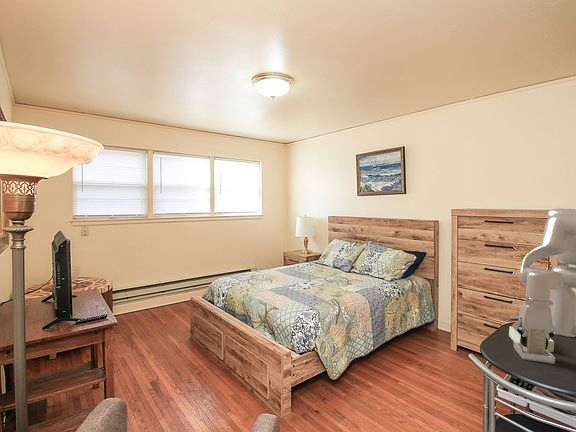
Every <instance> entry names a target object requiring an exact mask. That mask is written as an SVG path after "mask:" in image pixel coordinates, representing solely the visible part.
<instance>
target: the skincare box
mask: <svg viewBox="0 0 576 432" xmlns="http://www.w3.org/2000/svg"><path fill="white" fill-rule="evenodd" d="M526 337H527V347H524V346H523V350H524V351H525V352H526V353H533V354H540V355H545V345H546V329H538V328H529V330H528V331H527V335H526Z"/></svg>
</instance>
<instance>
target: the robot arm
mask: <svg viewBox="0 0 576 432" xmlns="http://www.w3.org/2000/svg"><path fill="white" fill-rule="evenodd" d="M546 217H547V220H546V221H545V222H546V223H545V225H544V226H545V227H544V229H543V233H542V236H541V237H542V238H541V241H540V244H539V245H538V246H536V247H534V248H533V249H531V250H530V251H528V253H527V254H526V255H524V257H523V258H522V261H521V265H520V268H519V272H518V278H519V281H520V282H521V283H522V284H525V285H526V286H525V301H524V303H522V304H521V306H520V310H519V314H518V315H519V316H518V320H517V321H515V322H514V323H512V324H511V327H514V328H515V329H516V330H517V331H518V332H519V333H520V334H521V338H520V343H521V344H522V345H523V346H524V347H527V337H526V335H527V331H528V330H529V328H538V329H546V345H545V350H547V347H548V341H549V340H550V338H551V339H552V338H553V337H554V336H555V335H558V336H562V337H567V338H576V292H575V291H574V289H576V267H575V266H576V208H553V209H550V210H548V211H547V213H546ZM552 256H555V259H556V261H557V262H558V263H559V264H561V263H562V264H564V265H555V266H553V267H552V268H551V269H546V268H540V267H534V266H533V264H534V263H535V262H536V261H539V260H540V259H544V258H547V257H552ZM568 265H572V266H568ZM518 327H519V328H522V329H521V330H520V329H519V328H518Z"/></svg>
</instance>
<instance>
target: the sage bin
mask: <svg viewBox="0 0 576 432" xmlns="http://www.w3.org/2000/svg"><path fill="white" fill-rule="evenodd" d="M518 328H519V329H520V330H521V329H522V327H520V326H518ZM508 331H509V332H508V336H509V338H510V339H511V340H512V341H513V343H514V342H518V343H520V338H521V334H520V333H519V332H518V331H517V330H516V329H515V328H514V327H513V326H512V325H511V326H509V329H508ZM547 350H548V351H549V352H550V353H554V350H555V340H553V339H552V338H550V340H549V341H548V347H547Z"/></svg>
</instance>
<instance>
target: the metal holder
mask: <svg viewBox="0 0 576 432" xmlns="http://www.w3.org/2000/svg"><path fill="white" fill-rule="evenodd" d="M513 349H514V350H515V352H516V353H517V354H518V355H519V357H521V358H522V359H523V360H525V361H526V360H527V361H531V362H532V361H533V362H540V363H546V364H552V365H555V364H556V357H555V356H554V355H553V354H552V352H549V351H548V350H545V355H540V354H533V353H526V352H525V351H524V350H523V345H522V344H521V343H518V342H514V341H513Z"/></svg>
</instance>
